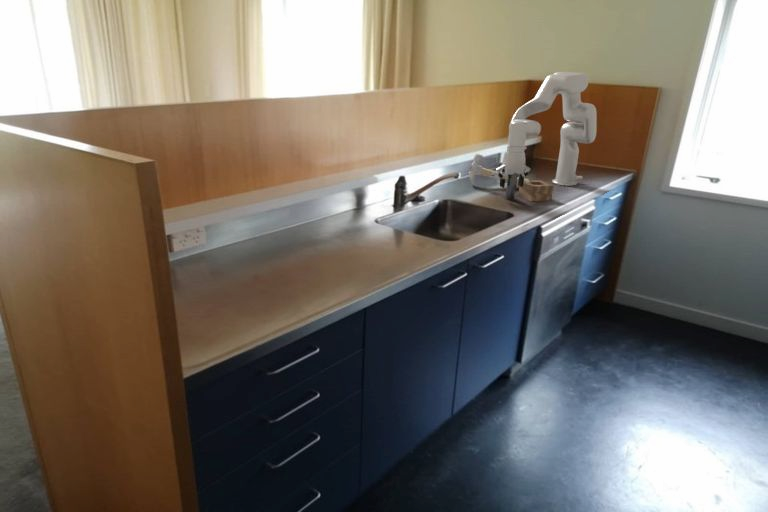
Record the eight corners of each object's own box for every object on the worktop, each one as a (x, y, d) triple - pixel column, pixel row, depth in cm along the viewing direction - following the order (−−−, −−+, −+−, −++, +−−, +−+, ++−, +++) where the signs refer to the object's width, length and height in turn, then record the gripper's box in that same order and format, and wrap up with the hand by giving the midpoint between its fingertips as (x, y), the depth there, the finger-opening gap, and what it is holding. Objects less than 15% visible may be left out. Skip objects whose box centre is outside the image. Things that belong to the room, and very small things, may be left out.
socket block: (538, 194, 258) (540, 180, 256) (551, 200, 248) (553, 185, 246) (518, 195, 255) (520, 181, 253) (530, 201, 245) (532, 186, 243)
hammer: (532, 168, 268) (474, 152, 267) (533, 170, 263) (475, 154, 263) (521, 197, 274) (465, 182, 273) (522, 200, 269) (465, 184, 269)
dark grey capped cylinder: (511, 197, 251) (515, 168, 246) (516, 199, 247) (520, 170, 242) (503, 198, 250) (506, 168, 245) (508, 200, 246) (511, 170, 241)
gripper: (527, 147, 246) (523, 183, 252) (494, 148, 241) (490, 185, 247) (536, 150, 239) (531, 187, 245) (502, 151, 234) (498, 189, 240)
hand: (511, 186), depth 246 cm, fingers open, 9 cm apart
